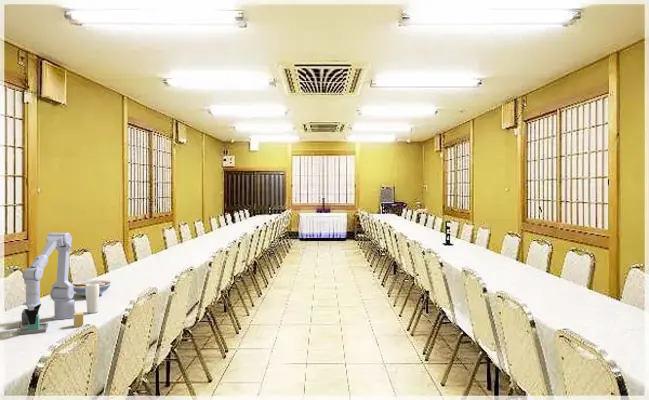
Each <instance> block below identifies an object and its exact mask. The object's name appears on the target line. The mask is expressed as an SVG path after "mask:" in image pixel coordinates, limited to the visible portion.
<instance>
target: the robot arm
mask: <svg viewBox="0 0 649 400" xmlns="http://www.w3.org/2000/svg"><path fill="white" fill-rule="evenodd" d="M45 239H46V240H45V241H46V244H45V245H44V247H43V248H42V250H41V253H40V254H37V255H36V257H35V258H34V260H33V261H32V262H31V264H30V265H29V267H26V268H25V269H24V270H23V272H22V279H23V282H24V285H25V302H23V303H22V306H25V307H27V308H24V309H25V313H26V314H27V317H28V320H29V324H30V325H32V324H35V322H36V316H37V315H39V311H40V308H41V306H42V303H41V279H42V278H43V275H44V270H45V267H46V266H47V264H48V263H49V257H50V256H51V254H52V253H53V251H54V250H57V255H58V256H57V271H56V282H54V283H53V284H52V285H51V290H50V293H49V296H50V299H52V301H53V302H54V303H53V304H54V305H53V306H54V315H53V319H52V320H53V321H54V320H63V319H64V320H66V319H74V313H76V308H75V307H76V305H75V299H73V298H74V295H75V292H74V289H73V283H71V282H70V281H69V274H70V273H69V271H70V269H69V268H70V254H71V249H72V243H73V236H72V235H71V233H69V232H49V233H47V236H46V238H45Z"/></svg>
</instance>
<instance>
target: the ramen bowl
mask: <svg viewBox="0 0 649 400" xmlns="http://www.w3.org/2000/svg"><path fill="white" fill-rule="evenodd" d="M92 283H97V284H99V295H101V294H103V293H104V292H106V291H107V290H108V289H109V287H110V286H111V284H112V282H111V280H110V281H109V280H100V279H99V280H98V279H97V280H85V281H84V280H83V281H78V282H75V283H72V284H73V289H74V294H77V295H79V296H83V297H85V298H86V293H85V286H86V285H87V284H92Z"/></svg>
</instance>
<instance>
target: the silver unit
mask: <svg viewBox="0 0 649 400" xmlns="http://www.w3.org/2000/svg"><path fill="white" fill-rule="evenodd" d="M25 309H26V308H23V310H22V312H21V322H20V324H19V326H18V327H19V329H20V327H21V326H22V325H28V317H27V314H26V313H25Z"/></svg>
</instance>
